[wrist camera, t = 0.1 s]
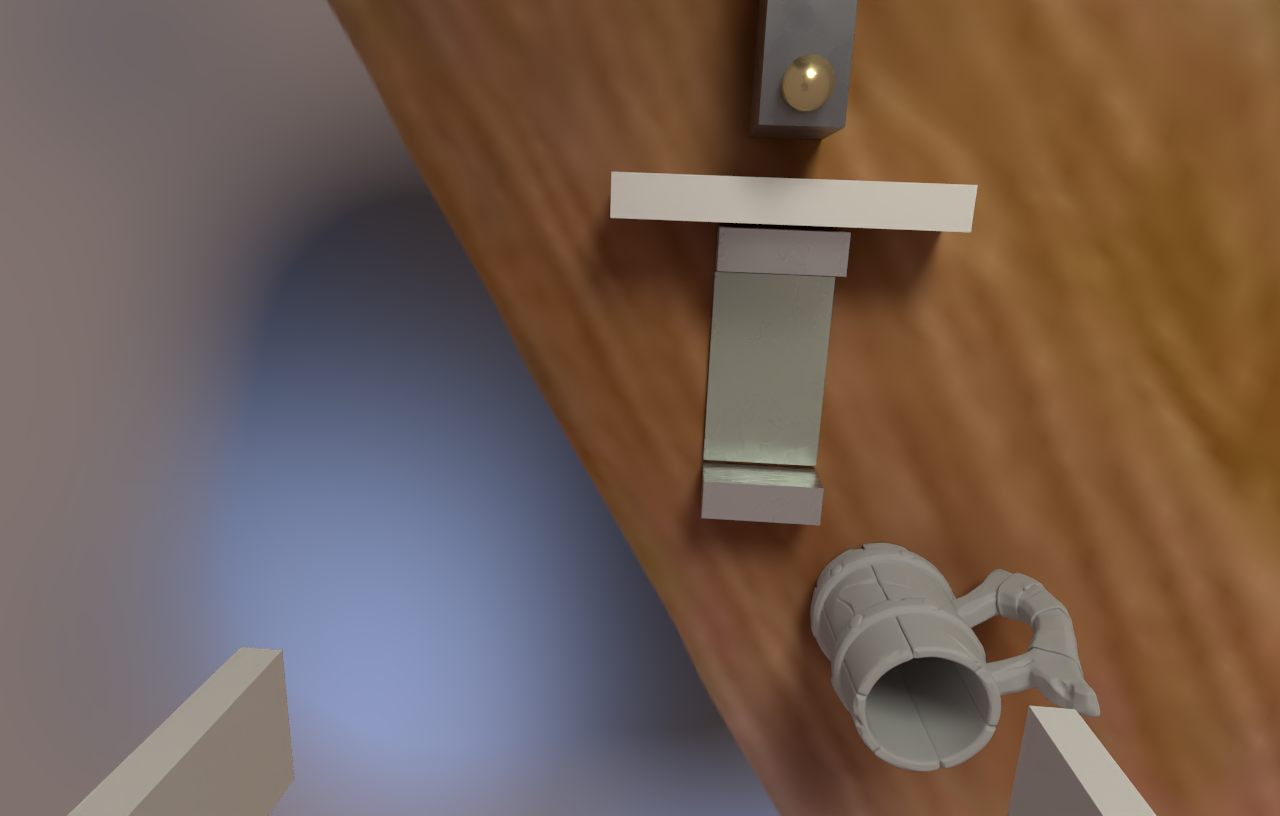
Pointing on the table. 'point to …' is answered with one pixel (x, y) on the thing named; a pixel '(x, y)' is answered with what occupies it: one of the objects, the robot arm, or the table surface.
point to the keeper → (768, 371)
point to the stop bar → (802, 68)
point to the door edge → (793, 201)
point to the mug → (935, 654)
